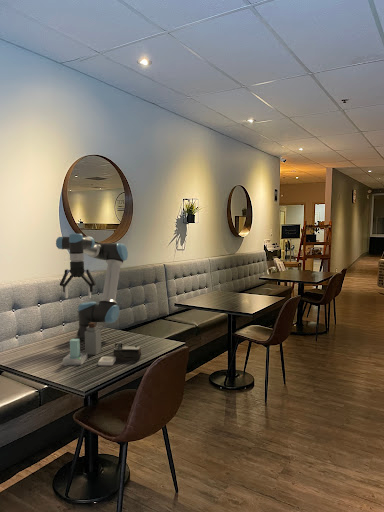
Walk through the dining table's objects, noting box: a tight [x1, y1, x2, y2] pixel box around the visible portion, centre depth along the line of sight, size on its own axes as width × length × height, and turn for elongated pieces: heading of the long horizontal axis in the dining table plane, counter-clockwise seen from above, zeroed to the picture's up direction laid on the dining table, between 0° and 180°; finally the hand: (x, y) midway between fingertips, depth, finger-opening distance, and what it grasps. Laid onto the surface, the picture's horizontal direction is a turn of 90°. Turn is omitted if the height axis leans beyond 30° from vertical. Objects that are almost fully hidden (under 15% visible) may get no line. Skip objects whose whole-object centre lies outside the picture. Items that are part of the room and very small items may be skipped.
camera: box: [112, 341, 142, 362], centre depth 220 cm, size 15×8×10 cm, turn 83°
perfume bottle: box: [84, 322, 102, 355], centre depth 230 cm, size 7×7×18 cm
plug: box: [69, 338, 81, 358], centre depth 216 cm, size 4×4×12 cm
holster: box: [97, 356, 117, 366], centre depth 213 cm, size 8×8×3 cm
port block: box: [62, 352, 88, 366], centre depth 216 cm, size 10×10×4 cm
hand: (78, 298), depth 228 cm, fingers open, 13 cm apart
